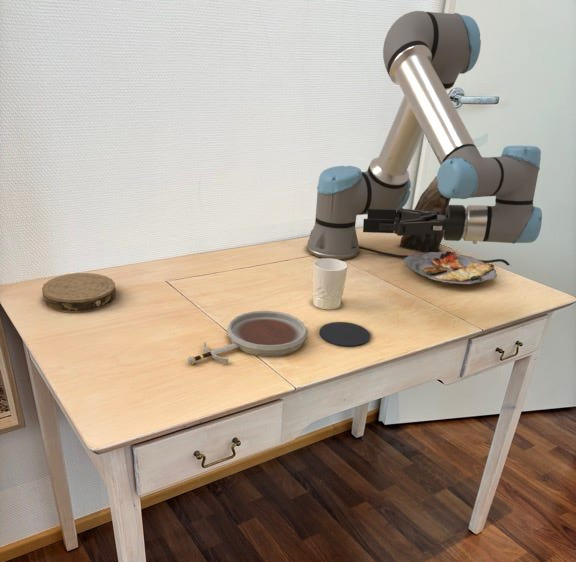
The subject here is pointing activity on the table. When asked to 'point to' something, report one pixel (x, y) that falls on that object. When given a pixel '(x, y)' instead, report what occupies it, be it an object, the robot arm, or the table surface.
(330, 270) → the white cup
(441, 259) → the food plate
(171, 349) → the table surface
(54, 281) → the tin can
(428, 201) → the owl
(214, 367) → the table surface
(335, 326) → the coaster
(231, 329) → the frying pan
